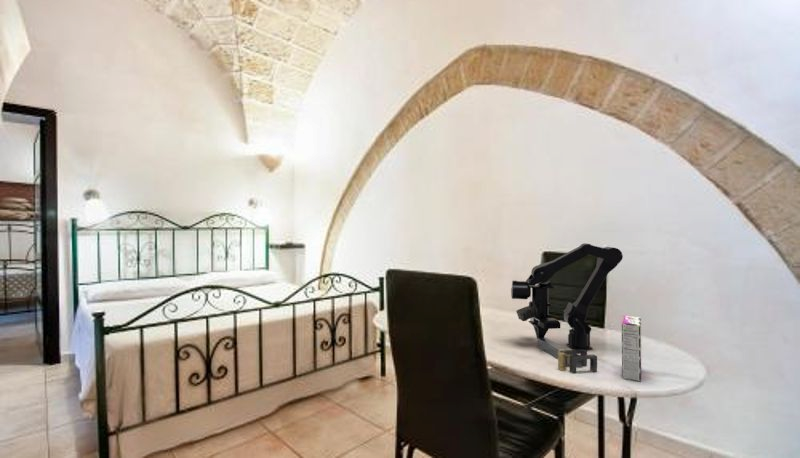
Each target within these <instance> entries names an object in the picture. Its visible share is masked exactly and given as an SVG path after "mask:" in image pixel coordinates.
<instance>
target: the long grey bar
mask: <svg viewBox="0 0 800 458" xmlns="http://www.w3.org/2000/svg"><path fill="white" fill-rule="evenodd" d="M536 339H537V340H536V346H537V348H539V349H541V350H543V351H544V352H545V353H548V354H549V355H550V356H553V357H554V358H556V359H557V360H558V353H561V350H569V349H567V348H566V347H565V346H562V345H560V344H559V343H556V342H555V341H553V340H552V339H549V338H548V337H545V336H544V337H543V338H537V337H536ZM567 355H571V356H572V355H578V354H567ZM567 366H568V367H570V358H567ZM577 368H583V366H582V360H576V369H577Z"/></svg>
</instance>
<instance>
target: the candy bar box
mask: <svg viewBox="0 0 800 458" xmlns="http://www.w3.org/2000/svg"><path fill="white" fill-rule="evenodd" d="M622 316H623V317H622V322H621V362H622V363H621V374H622V375H621V379H623V378H624V379H623V380H628V379H630V381H634V380H635V381H636V382H641V381H642V317H641V316H631V315H622ZM635 381H634V382H635Z"/></svg>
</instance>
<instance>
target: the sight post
mask: <svg viewBox="0 0 800 458" xmlns="http://www.w3.org/2000/svg"><path fill="white" fill-rule="evenodd" d="M570 356H571V355H566V354H565V353H563V352H562V353H558V359H557V362H558V363H557V369H558V370H560V371H566V370H567V367H566V358H570Z"/></svg>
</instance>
